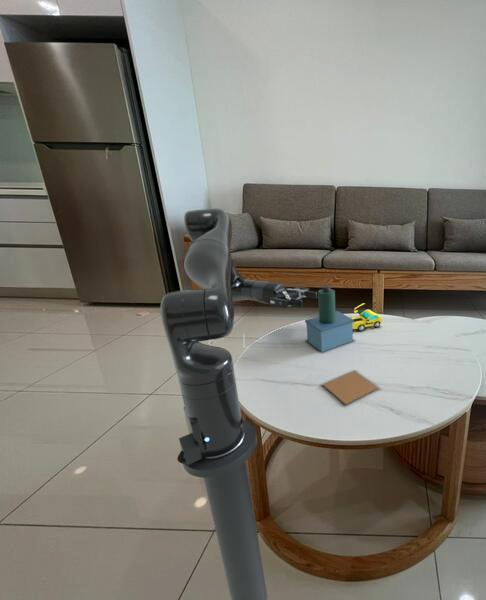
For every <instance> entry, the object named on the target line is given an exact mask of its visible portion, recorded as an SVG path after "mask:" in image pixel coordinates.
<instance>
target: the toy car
mask: <svg viewBox="0 0 486 600" xmlns="http://www.w3.org/2000/svg"><path fill="white" fill-rule="evenodd" d="M365 304H366V303H363V302H362V303H361V304H359V305H357V306H356V307H354V309H353V313H354V314H357V313H358V315H359V316H352V317H350V318H351V319H353V320H354V322H353V330H358V331H360V332H362V331H364V330H365V328H368V327H372V326H374V327H375V328H380V325H381V324H382V323H383V317H382V316H381V315H379V314H378V313H376V312H374V311H372V310H371V309H365V310H363V311H362V312H359V310H357V309H358V308H359V307H361V306H363V305H365Z"/></svg>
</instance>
